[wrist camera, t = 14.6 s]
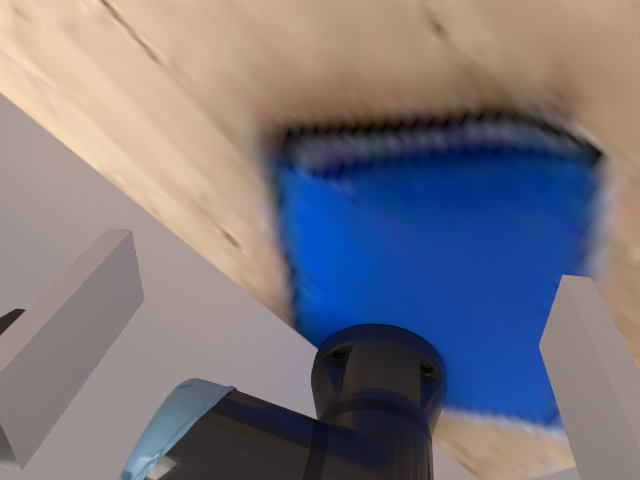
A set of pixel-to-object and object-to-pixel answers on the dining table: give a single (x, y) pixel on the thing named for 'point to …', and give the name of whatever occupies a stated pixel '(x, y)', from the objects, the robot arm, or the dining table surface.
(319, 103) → the dining table surface
